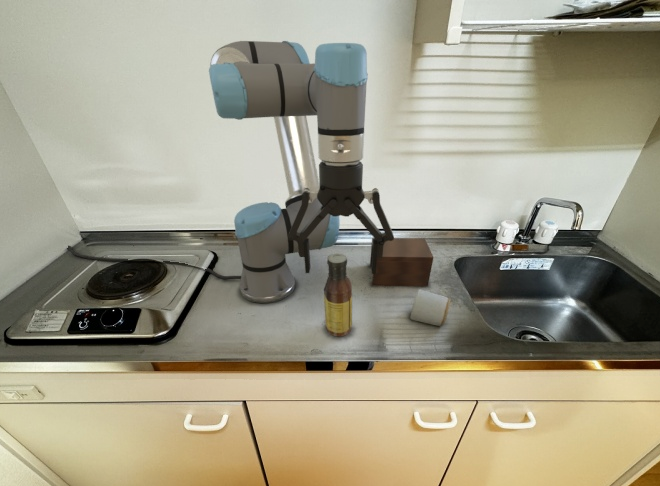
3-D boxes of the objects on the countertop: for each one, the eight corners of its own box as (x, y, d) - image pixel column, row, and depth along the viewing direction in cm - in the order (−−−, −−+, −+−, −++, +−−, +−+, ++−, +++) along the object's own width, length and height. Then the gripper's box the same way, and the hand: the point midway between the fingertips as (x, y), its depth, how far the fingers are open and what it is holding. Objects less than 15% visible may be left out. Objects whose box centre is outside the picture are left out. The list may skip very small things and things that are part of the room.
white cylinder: (442, 333, 75) (449, 307, 70) (408, 325, 77) (413, 299, 73) (447, 308, 83) (453, 283, 78) (416, 301, 85) (420, 277, 81)
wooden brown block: (372, 285, 92) (374, 256, 86) (370, 265, 101) (371, 237, 96) (427, 286, 91) (433, 257, 86) (420, 265, 101) (424, 238, 95)
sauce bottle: (337, 318, 79) (336, 246, 68) (357, 328, 76) (360, 254, 65) (319, 331, 75) (316, 257, 64) (340, 342, 72) (340, 267, 61)
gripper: (262, 166, 50) (277, 279, 63) (419, 166, 50) (403, 280, 62) (271, 156, 57) (283, 261, 69) (411, 156, 56) (398, 262, 68)
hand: (340, 270), depth 66 cm, fingers open, 13 cm apart
